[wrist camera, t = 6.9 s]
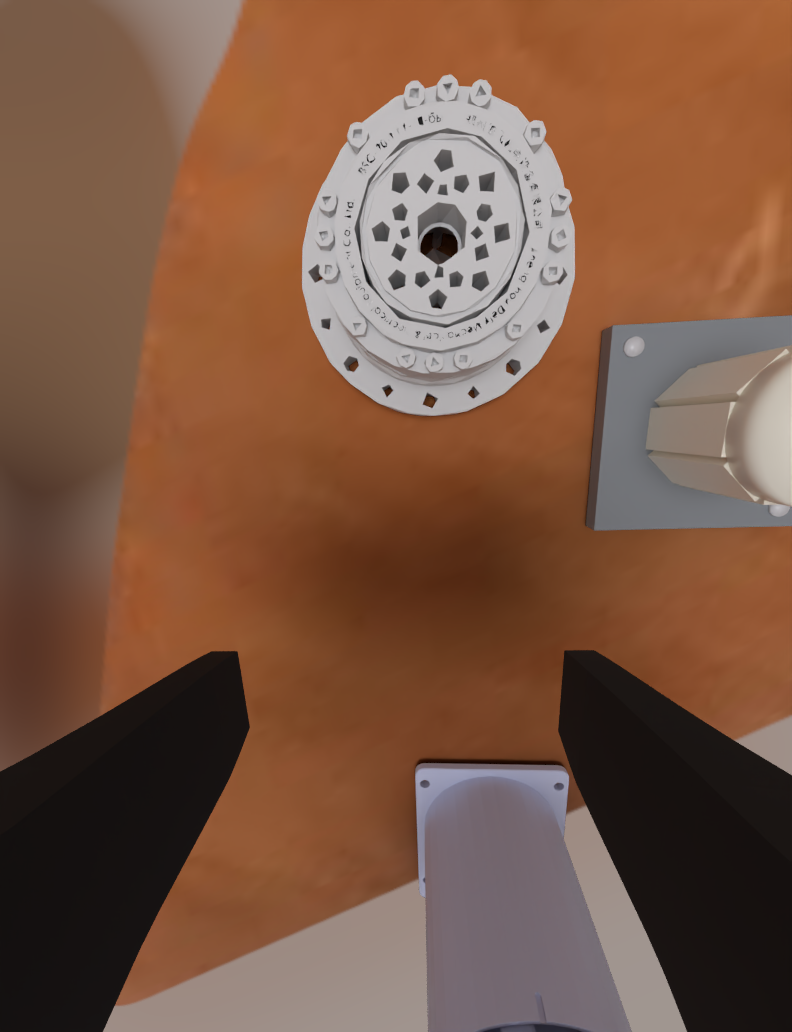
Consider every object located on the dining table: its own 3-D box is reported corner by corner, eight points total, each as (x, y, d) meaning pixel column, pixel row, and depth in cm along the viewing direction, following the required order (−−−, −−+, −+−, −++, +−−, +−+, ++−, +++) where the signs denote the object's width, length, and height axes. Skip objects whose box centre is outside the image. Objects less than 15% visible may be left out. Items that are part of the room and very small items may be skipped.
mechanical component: (544, 419, 16) (578, 136, 13) (592, 417, 12) (654, 1, 9) (315, 413, 16) (308, 139, 14) (279, 409, 12) (259, 10, 10)
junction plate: (775, 521, 16) (890, 551, 12) (585, 525, 16) (637, 556, 13) (818, 318, 14) (970, 278, 10) (602, 330, 15) (669, 296, 11)
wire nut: (759, 483, 15) (923, 511, 10) (640, 486, 15) (745, 514, 10) (783, 361, 14) (981, 327, 9) (655, 367, 14) (781, 336, 9)
